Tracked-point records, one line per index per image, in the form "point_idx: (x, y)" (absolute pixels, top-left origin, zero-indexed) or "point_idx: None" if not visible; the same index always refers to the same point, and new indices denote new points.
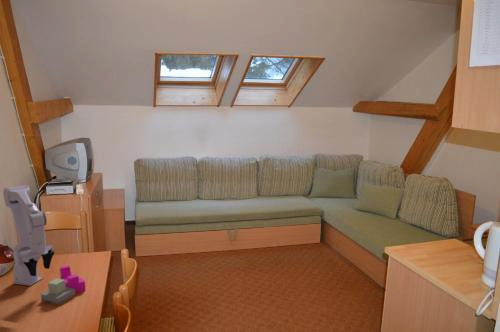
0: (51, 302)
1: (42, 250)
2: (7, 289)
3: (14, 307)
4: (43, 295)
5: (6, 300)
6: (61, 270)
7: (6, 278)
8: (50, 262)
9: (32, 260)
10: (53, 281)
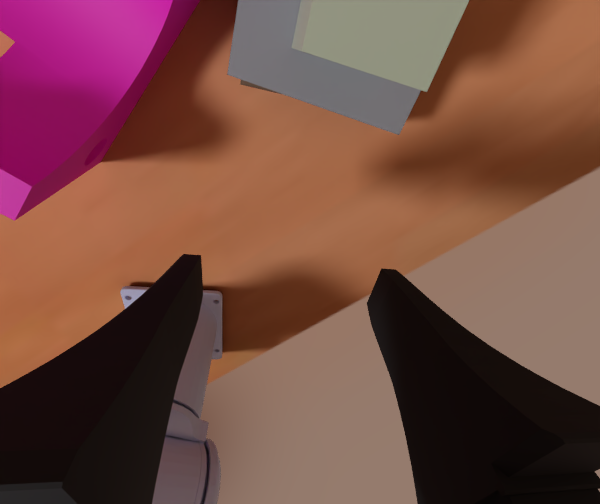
0: None
1: None
2: (270, 340)
3: (435, 224)
4: (409, 106)
5: (363, 291)
6: (44, 174)
7: None
8: (145, 295)
9: (545, 489)
10: (396, 35)
